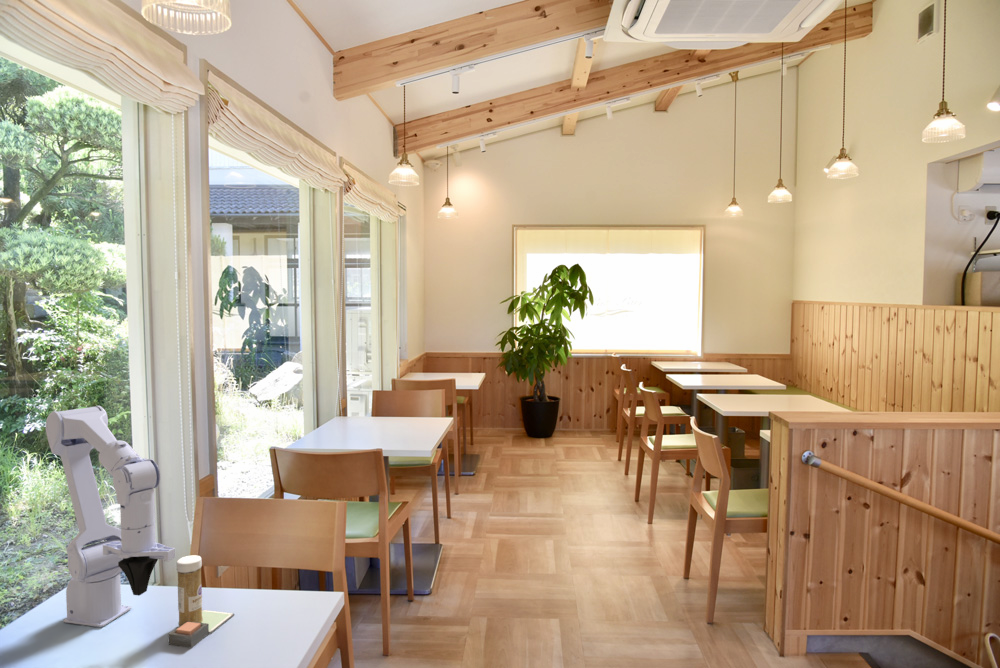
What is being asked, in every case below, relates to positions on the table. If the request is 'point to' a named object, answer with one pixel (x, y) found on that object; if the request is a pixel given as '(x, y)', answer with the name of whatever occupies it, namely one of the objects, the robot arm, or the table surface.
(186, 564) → the sprinkles bottle
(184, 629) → the button
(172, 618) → the table surface
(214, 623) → the picture board
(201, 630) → the button housing
